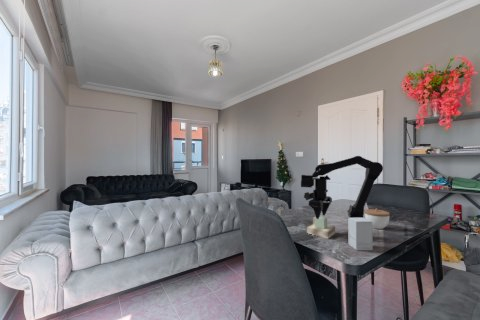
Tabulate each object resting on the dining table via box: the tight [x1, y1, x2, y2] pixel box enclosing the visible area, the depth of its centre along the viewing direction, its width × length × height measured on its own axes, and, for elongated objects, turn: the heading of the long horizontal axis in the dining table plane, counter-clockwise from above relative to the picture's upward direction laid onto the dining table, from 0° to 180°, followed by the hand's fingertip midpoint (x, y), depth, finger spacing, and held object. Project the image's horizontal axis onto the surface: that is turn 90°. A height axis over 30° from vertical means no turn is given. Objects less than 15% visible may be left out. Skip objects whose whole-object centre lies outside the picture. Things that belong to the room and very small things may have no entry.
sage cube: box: [313, 215, 328, 229], centre depth 117 cm, size 5×5×5 cm
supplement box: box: [347, 217, 373, 251], centre depth 99 cm, size 7×7×13 cm
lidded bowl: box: [364, 207, 390, 230], centre depth 128 cm, size 13×13×11 cm
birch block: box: [306, 223, 336, 239], centre depth 117 cm, size 11×11×4 cm
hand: (320, 217), depth 117 cm, fingers open, 9 cm apart
